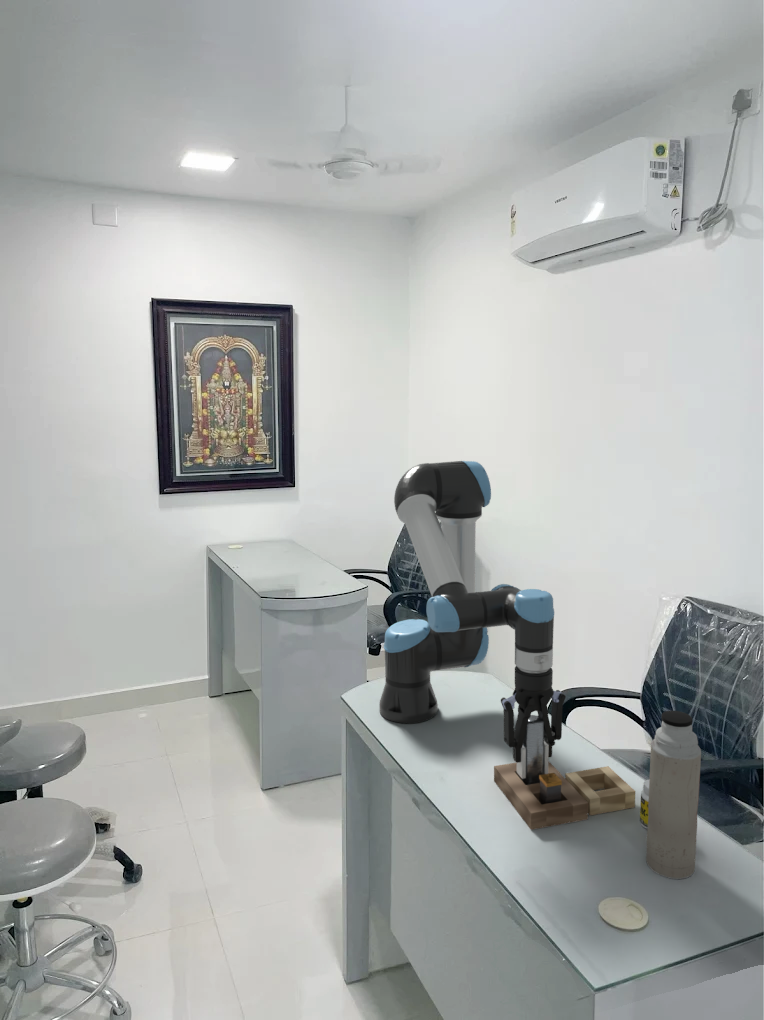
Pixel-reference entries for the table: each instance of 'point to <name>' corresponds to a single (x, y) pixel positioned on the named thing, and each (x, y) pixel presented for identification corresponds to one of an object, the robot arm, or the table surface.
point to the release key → (550, 788)
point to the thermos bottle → (673, 797)
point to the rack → (606, 800)
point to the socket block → (529, 799)
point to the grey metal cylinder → (534, 749)
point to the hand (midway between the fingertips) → (532, 773)
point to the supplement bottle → (644, 805)
